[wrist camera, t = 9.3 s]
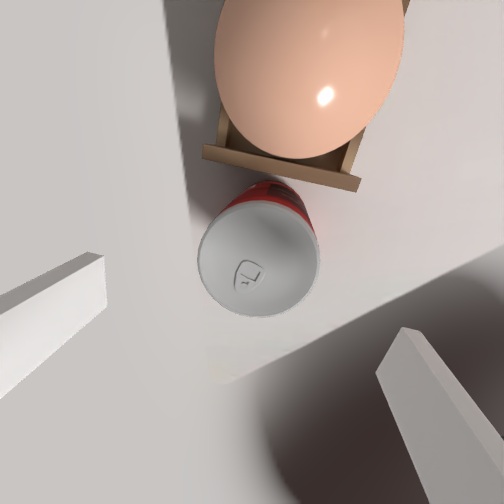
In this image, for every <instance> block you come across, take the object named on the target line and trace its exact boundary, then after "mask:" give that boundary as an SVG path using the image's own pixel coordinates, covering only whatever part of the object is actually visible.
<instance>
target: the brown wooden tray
mask: <svg viewBox="0 0 504 504" xmlns="http://www.w3.org/2000/svg"><path fill="white" fill-rule="evenodd" d="M409 2H410V0H402V6H403V12H404V16H405V13H406V11H407V8H408V5H409ZM365 128H366V126H365V127H364V128H363V129H362V130H361V131H360V132H359V133H358V134H357V135H356V136H355V137H353V138H352V139H351V140H349V141H348V142H347V143H345V144H343V145H342V146H340V147H338V148H336V149H335V150H332V151H330V152H328V153H325V154H322V155H319V156H315V157H310V158H303V159H292V158H284V157H279V156H276V155H272V154H270V153H268V152H265V151H263V150H261V149H260V148H258V147H257V146H255V145H253V144H252V143H251V142H250V141H248V140H247V139H246V138H245V137H244V136H243V135H242V134H241V133H240V132H239V131H238V129H237V128H236V127H235V125H234V124H233V122H232V121H231V120H230V118H229V116H228V114H227V112H226V110H225V108H224V106H223V103H222V101H221V108H220V116H219V125H218V133H217V141H216V145H209V144H203V151H202V159H206V160H211V161H215V162H220V163H224V164H229V165H233V166H238V167H243V168H247V169H252V170H256V171H261V172H265V173H270V174H274V175H279V176H284V177H288V178H293V179H297V180H302V181H306V182H311V183H315V184H320V185H325V186H329V187H334V188H338V189H343V190H347V191H352V192H357V189H358V187H359V184H360V181H361V179H362V178H359V177H356V176H353V175H351V174H350V171H351V168H352V165H353V162H354V159H355V156H356V154H357V151H358V148H359V145H360V142H361V139H362V136H363V133H364V131H365Z"/></svg>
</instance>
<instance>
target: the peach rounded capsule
mask: <svg viewBox="0 0 504 504" xmlns="http://www.w3.org/2000/svg"><path fill="white" fill-rule="evenodd" d="M403 41H404V12H403V6H402V0H225V2H224V5H223V8H222V11H221V13H220V17H219V21H218V25H217V30H216V36H215V44H214V69H215V77H216V83H217V87H218V91H219V95H220V98H221V101H222V103H223V106H224V108H225V110H226V112H227V114H228V116H229V118H230V120H231V121H232V122H233V124H234V125H235V127H236V128H237V129H238V131H239V132H240V133H241V134H242V135H243V136H244V137H245V138H246V139H247V140H248V141H250V142H251V143H252V144H253V145H255V146H257V147H258V148H260V149H261V150H263V151H265V152H268V153H270V154H272V155H276V156H279V157H284V158H292V159H303V158H310V157H315V156H319V155H322V154H325V153H328V152H330V151H332V150H335V149H336V148H338V147H340V146H342V145H343V144H345V143H347V142H348V141H349V140H351V139H352V138H353V137H355V136H356V135H357V134H358V133H359V132H360V131H361V130H362V129H363V128H364V127H365V126H366V125H367V124H368V123H369V122H370V121H371V120H372V118H373V117H374V116H375V114H376V113H377V112H378V110H379V109H380V107H381V106H382V104H383V103H384V101H385V99H386V97H387V95H388V93H389V92H390V89H391V87H392V84H393V82H394V80H395V77H396V74H397V71H398V67H399V64H400V60H401V55H402V50H403Z"/></svg>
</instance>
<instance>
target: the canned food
mask: <svg viewBox="0 0 504 504" xmlns="http://www.w3.org/2000/svg"><path fill="white" fill-rule="evenodd" d="M197 263H198V271H199V274H200V277H201V281H202V283H203V284H204V286H205V288H206V290H207V291H208V293H209V294H210V295H211V296H212V297H213V299H214V300H216V301H217V302H218V303H219V304H220V305H221V306H223V307H225V308H226V309H228V310H230V311H232V312H234V313H237V314H239V315H243V316H248V317H257V318H264V317H272V316H276V315H279V314H282V313H285V312H287V311H289V310H291V309H293V308H294V307H296V306H297V305H298V304H300V303H301V302H302V301H303V300H304V299H305V298H306V297H307V296H308V294H309V293H310V292H311V290H312V288H313V287H314V285H315V283H316V280H317V277H318V274H319V268H320V252H319V245H318V242H317V238H316V235H315V232H314V229H313V227H312V224H311V222H310V219H309V216H308V214H307V211H306V208H305V206H304V203H303V201H302V200H301V198H300V196H299V195H298V194H297V193H296V192H295V191H294V190H293V189H291V188H290V187H288V186H287V185H284V184H282V183H279V182H273V181H268V182H261V183H257V184H254V185H252V186H250V187H248V188H247V189H246V190H244V191H243V192H242V193H241V194H240V195H239V196H238V197H237V198H236V199H234V200H233V201H232V202H231V203H230V204H229V205H228V206H227V207H226V208H225V209H224V210H223V211H222V212H221V213H220V214H219V215H218V216H217V217H216V218H215V219H214V220H213V221H212V223H211V224H210V225H209V226H208V228H207V230H206V232H205V234H204V235H203V237H202V239H201V242H200V245H199V249H198V258H197Z"/></svg>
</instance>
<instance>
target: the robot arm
mask: <svg viewBox="0 0 504 504" xmlns="http://www.w3.org/2000/svg"><path fill="white" fill-rule="evenodd" d="M106 307H107V296H106V280H105V264H104V256H102V255H98V254H94V253H90V252H86V253H84V254H82V255H80V256H78V257H76V258H74V259H73V260H70V261H68V262H66V263H64V264H63V265H60V266H58V267H56V268H54V269H52V270H50V271H48V272H46V273H45V274H43V275H40V276H38V277H37V278H35V279H32V280H31V281H29V282H26V283H24V284H23V285H21V286H19V287H17V288H15V289H13V290H11V291H9V292H7V293H5V294H3V295H1V296H0V399H1V398H2V397H3V396H4V395H5V394H6V393H8V392H9V391H10V390H11V389H12V388H13V387H15V386H16V385H17V384H18V383H19V382H20V381H22V380H23V379H24V378H25V377H26V376H27V375H28V374H30V373H31V372H32V371H33V370H34V369H35V368H37V367H38V366H39V365H40V364H41V363H42V362H43V361H45V360H46V359H47V358H48V357H49V356H50V355H51V354H53V353H54V352H55V351H56V350H57V349H58V348H60V347H61V346H62V345H63V344H64V343H65V342H67V341H68V340H69V339H70V338H71V337H72V336H73V335H75V334H76V333H77V332H78V331H79V330H80V329H81V328H83V327H84V326H85V325H86V324H87V323H89V322H90V321H91V320H92V319H93V318H94V317H95V316H97V315H98V314H99V313H100V312H101V311H102V310H103V309H104V308H106ZM376 375H377V377H378V380H379V382H380V384H381V387H382V389H383V392H384V394H385V396H386V399H387V401H388V404H389V406H390V409H391V411H392V413H393V416H394V418H395V421H396V423H397V425H398V428H399V430H400V433H401V435H402V437H403V440H404V442H405V445H406V447H407V449H408V452H409V454H410V457H411V459H412V461H413V464H414V466H415V469H416V471H417V473H418V476H419V478H420V481H421V483H422V485H423V488H424V490H425V493H426V495H427V497H428V500H429V502H430V504H504V436H500V435H499V434H498V432H497V431H496V430H495V429H494V427H493V426H492V425H491V423H490V422H489V421H488V419H487V418H486V417H485V416H484V414H483V413H482V412H481V411H480V409H479V408H478V406H477V405H476V404H475V403H474V401H473V400H472V398H471V397H470V396H469V395H468V393H467V392H466V391H465V389H464V388H463V387H462V385H461V384H460V383H459V381H458V380H457V379H456V378H455V376H454V375H453V374H452V372H451V371H450V370H449V368H448V367H447V366H446V365H445V363H444V362H443V361H442V359H441V358H440V357H439V355H438V354H437V353H436V351H435V350H434V349H433V348H432V346H431V345H430V344H429V342H428V341H427V340H426V338H425V337H424V336H423V334H422V333H421V332H420V331H417V330H412V329H408V328H404V327H402V328H401V329H400V331H399V333H398V335H397V336H396V338H395V340H394V341H393V344H392V345H391V347H390V348H389V350H388V352H387V354H386V355H385V357H384V359H383V361H382V362H381V364H380V366H379V367H378V369H377V371H376Z"/></svg>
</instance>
